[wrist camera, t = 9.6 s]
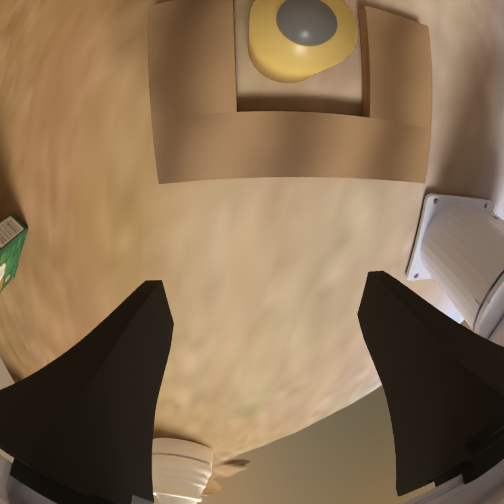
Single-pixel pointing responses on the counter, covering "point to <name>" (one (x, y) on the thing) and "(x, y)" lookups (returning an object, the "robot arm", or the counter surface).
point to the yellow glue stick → (299, 37)
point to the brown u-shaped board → (284, 122)
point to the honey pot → (179, 470)
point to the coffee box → (10, 247)
